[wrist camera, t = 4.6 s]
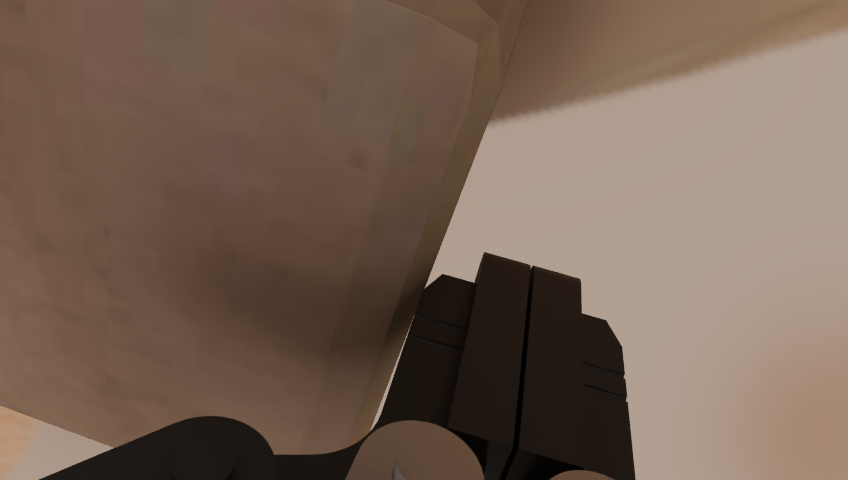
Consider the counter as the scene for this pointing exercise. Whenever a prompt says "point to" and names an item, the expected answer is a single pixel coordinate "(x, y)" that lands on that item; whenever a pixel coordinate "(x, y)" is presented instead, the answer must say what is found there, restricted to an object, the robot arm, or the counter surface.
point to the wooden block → (229, 203)
